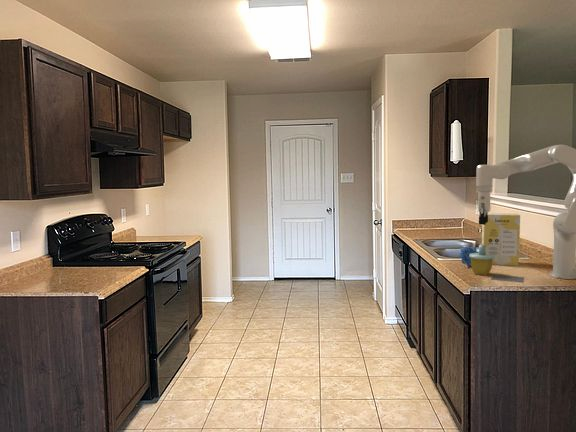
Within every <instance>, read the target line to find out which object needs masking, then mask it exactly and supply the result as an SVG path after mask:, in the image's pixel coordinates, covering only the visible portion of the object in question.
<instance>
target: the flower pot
mask: <svg viewBox="0 0 576 432" xmlns="http://www.w3.org/2000/svg"><path fill="white" fill-rule="evenodd" d="M492 263H493V259H474V258H471V267H470V268H471V270H472V273H474V275H478V276H479V275H480V276H486V275H488V274H490V272H491V269H492V267H493V265H492Z"/></svg>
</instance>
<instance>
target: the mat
mask: <svg viewBox="0 0 576 432" xmlns="http://www.w3.org/2000/svg"><path fill="white" fill-rule="evenodd" d="M490 280H491V281H500V282H514V283H522V284H524V280H525V277H523V276H513V275H502V274H492V276H491V277H490Z"/></svg>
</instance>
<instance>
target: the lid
mask: <svg viewBox="0 0 576 432" xmlns="http://www.w3.org/2000/svg"><path fill="white" fill-rule="evenodd" d="M478 252H479V253H471V254H469V257H470V258H474V259H494V258H495V255H493V254H488V253H486V245H482V244H478Z"/></svg>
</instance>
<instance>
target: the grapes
mask: <svg viewBox="0 0 576 432" xmlns="http://www.w3.org/2000/svg"><path fill="white" fill-rule="evenodd" d="M460 252H461V253H459V254H458V257H459V258H460V259H461V263H462V264H463V265H466V267H468V268H472V267H471V258H470V257H469V254H471V253H479V251H477V247H475V246H473V247H471V246H470V245H468V244H467V245H466V246H465V247H461V248H460Z"/></svg>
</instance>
